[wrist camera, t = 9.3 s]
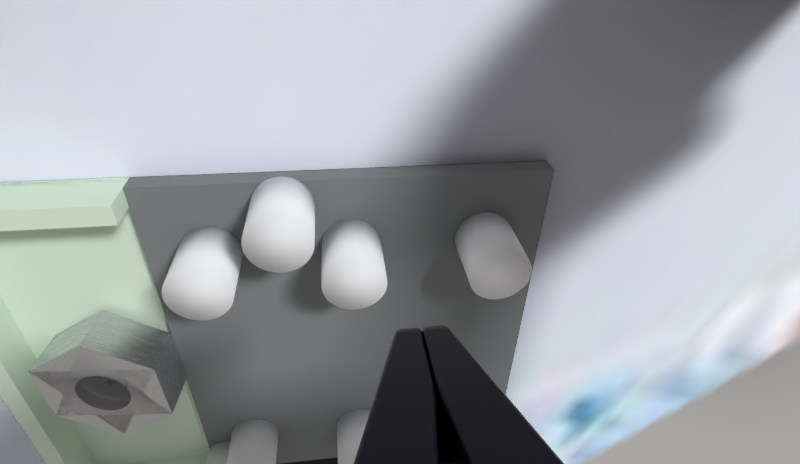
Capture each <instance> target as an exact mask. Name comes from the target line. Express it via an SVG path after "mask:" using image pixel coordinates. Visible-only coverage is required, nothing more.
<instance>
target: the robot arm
mask: <svg viewBox="0 0 800 464" xmlns="http://www.w3.org/2000/svg"><path fill="white" fill-rule="evenodd" d="M354 464H564V463H563V462H562V461H561V460H560V459H559V457H558V456H557V455H556V454H555V453H554V452H553V450H552V449H551V448H550V447H549V446H548V445H547V443H546V442H545V441H544V440H543V439H542V437H541V436H540V435H539V434H538V433H537V432H536V430H535V429H534V428H533V427H532V426H531V425H530V423H529V422H528V421H527V420H526V419H525V417H524V416H523V415H522V414H521V413H520V412H519V410H518V409H517V408H516V407H515V406H514V405H513V403H512V402H511V401H510V400H509V399H508V398H507V396H506V395H505V394H504V393H503V392H502V390H501V389H500V388H499V387H498V386H497V385H496V383H495V382H494V381H493V380H492V379H491V378H490V376H489V375H488V374H487V373H486V372H485V371H484V369H483V368H482V367H481V366H480V365H479V363H478V362H477V361H476V360H475V359H474V358H473V356H472V355H471V354H470V353H469V352H468V351H467V349H466V348H465V347H464V346H463V345H462V343H461V342H460V341H459V340H458V339H457V338H456V336H455V335H454V334H453V333H452V332H451V331H450V329H449V328H448V327H446V326H443V325H441V326H429V327H424V328H423V329H422V330H420V329H419V328H405V329H398V330H397V331H396V332H395V334H394V337H393V340H392V343H391V347H390V350H389V353H388V356H387V359H386V362H385V366H384V369H383V372H382V375H381V378H380V381H379V385H378V388H377V391H376V394H375V397H374V400H373V404H372V407H371V410H370V413H369V416H368V419H367V423H366V426H365V429H364V432H363V435H362V438H361V442H360V445H359V448H358V451H357V454H356V457H355V461H354Z"/></svg>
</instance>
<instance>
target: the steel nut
mask: <svg viewBox="0 0 800 464" xmlns="http://www.w3.org/2000/svg"><path fill="white" fill-rule="evenodd" d="M28 372H29V373H30V375H31V377H32V378H33V380H34V381H35V383H36V385H37V386H38V388H39V389H40V391H41V392H42V394H43V396H44V397H45V399H46V400H47V402H48V404H49V405H50V407H51V408H52V410H53V412H54V413H55V415H56V416H59V417H62V418H66V419H70V420H73V421H77V422H81V423H84V424H88V425H92V426H95V427H99V428H103V429H106V430H110V431H114V432H117V433H121V434H127V433H129V432H131V431H134V430H136V429H138V428H141V427H143V426H145V425H147V424H150V423H152V422H154V421H157V420H159V419H161V418H164V417H166V416H168V415H170V414H172V413H173V411H174V408H175V406H176V403H177V401H178V398H179V396H180V393H181V391H182V388H183V386H184V383H185V381H186V379H187V375H186V372H185V369H184V367H183V364H182V361H181V358H180V355H179V353H178V350H177V347H176V344H175V342H174V339H173V336H172V333H169V332H166V331H164V330H161V329H158V328H155V327H152V326H149V325H146V324H143V323H140V322H137V321H134V320H131V319H128V318H125V317H122V316H120V315H117V314H114V313H111V312H108V311H105V310H101V311H99V312H97V313H95V314H94V315H92V316H90V317H88V318H86V319H84V320H82V321H80V322H79V323H77V324H75V325H73V326H71V327H69V328H67V329H66V330H64V331H62V332H60V333H58V334H56V335H55V336H54V337H53V339H52V340H51V342H50V343H49V344H48V346H47V347H46V348H45V350H44V351H43V352H42V354H41V355H40V356H39V358H38V359H37V361H36V362H35V363H34V365H33V366H32V367H31V369H30V370H29V371H28Z"/></svg>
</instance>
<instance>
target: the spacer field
mask: <svg viewBox="0 0 800 464" xmlns="http://www.w3.org/2000/svg"><path fill="white" fill-rule="evenodd" d="M553 171H554V170H553V168H552V167H551V166H550V165H549V163H548V162H547V161H529V162H504V163H479V164H454V165H428V166H403V167H378V168H353V169H327V170H302V171H277V172H252V173H226V174H201V175H176V176H150V177H125V178H100V179H75V180H49V181H24V182H0V396H1V398H2V399H3V401H4V402H5V404H6V405H7V407H8V408H9V410H10V411H11V413H12V414H13V416H14V417H15V419H16V420H17V422H18V423H19V425H20V426H21V428H22V429H23V431H24V432H25V434H26V435H27V437H28V438H29V439H30V441H31V442H32V444H33V445H34V447H35V448H36V450H37V451H38V453H39V454H40V456H41V457H42V459H43V460H44V462H45V463H46V464H280V463H289V462H299V461H308V460H318V459H328V458H337V457H338V464H354V461H355V457H356V454H357V451H358V448H359V445H360V442H361V438H362V435H363V432H364V429H365V426H366V423H367V419H368V416H369V413H370V410H371V407H372V404H373V400H374V397H375V394H376V391H377V388H378V385H379V381H380V378H381V375H382V372H383V369H384V366H385V362H386V359H387V356H388V353H389V350H390V347H391V343H392V340H393V337H394V334H395V332H396V331H397V330H398V329H405V328H419V329H420V330H422V329H423V328H424V327H429V326H441V325H443V326H446V327H448V328H449V329H450V331H451V332H452V333H453V334H454V335H455V336H456V338H457V339H458V340H459V341H460V342H461V343H462V345H463V346H464V347H465V348H466V349H467V351H468V352H469V353H470V354H471V355H472V356H473V358H474V359H475V360H476V361H477V362H478V363H479V365H480V366H481V367H482V368H483V369H484V371H485V372H486V373H487V374H488V375H489V376H490V378H491V379H492V380H493V381H494V382H495V383H496V385H497V386H498V387H499V388H500V389H501V390H502V392H503V393H504V394H506V389H507V384H508V380H509V375H510V371H511V366H512V361H513V357H514V352H515V347H516V343H517V338H518V333H519V329H520V324H521V320H522V315H523V310H524V306H525V301H526V296H527V292H528V287H529V283H530V278H531V273H532V269H533V264H534V259H535V255H536V250H537V246H538V241H539V236H540V232H541V227H542V222H543V218H544V213H545V208H546V204H547V199H548V195H549V190H550V185H551V181H552V176H553ZM101 310H105V311H108V312H111V313H114V314H117V315H120V316H122V317H125V318H128V319H131V320H134V321H137V322H140V323H143V324H146V325H149V326H152V327H155V328H158V329H161V330H164V331H166V332H169V333H172V336H173V339H174V342H175V344H176V347H177V350H178V353H179V355H180V358H181V361H182V364H183V367H184V369H185V372H186V375H187V379H186V381H185V383H184V386H183V388H182V391H181V393H180V396H179V398H178V401H177V403H176V406H175V408H174V411H173V413H172V414H170V415H168V416H166V417H164V418H161V419H159V420H157V421H154V422H152V423H150V424H147V425H145V426H143V427H141V428H138V429H136V430H134V431H131V432H129V433H127V434H121V433H117V432H114V431H110V430H106V429H103V428H99V427H95V426H92V425H88V424H84V423H81V422H77V421H73V420H70V419H66V418H62V417H59V416H56V415H55V413H54V412H53V410H52V408H51V407H50V405H49V404H48V402H47V400H46V399H45V397H44V396H43V394H42V392H41V391H40V389H39V388H38V386H37V385H36V383H35V381H34V380H33V378H32V377H31V375H30V373H29V372H28V371H29V370H30V369H31V367H32V366H33V365H34V363H35V362H36V361H37V359H38V358H39V356H40V355H41V354H42V352H43V351H44V350H45V348H46V347H47V346H48V344H49V343H50V342H51V340H52V339H53V337H54V336H55V335H56V334H58V333H60V332H62V331H64V330H66V329H67V328H69V327H71V326H73V325H75V324H77V323H79V322H80V321H82V320H84V319H86V318H88V317H90V316H92V315H94V314H95V313H97V312H99V311H101Z"/></svg>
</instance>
